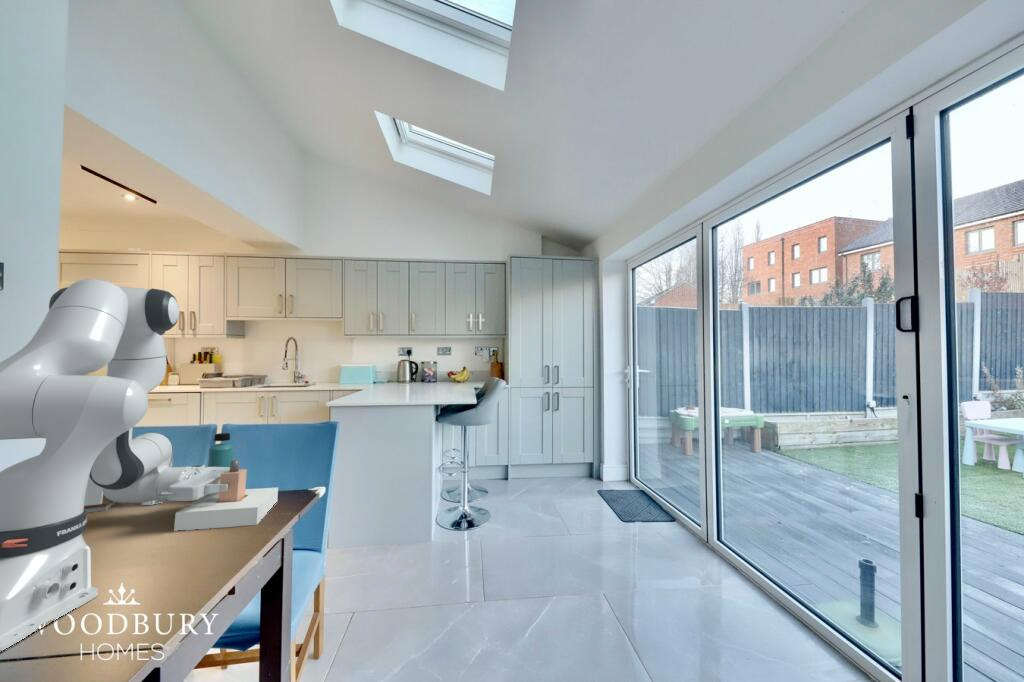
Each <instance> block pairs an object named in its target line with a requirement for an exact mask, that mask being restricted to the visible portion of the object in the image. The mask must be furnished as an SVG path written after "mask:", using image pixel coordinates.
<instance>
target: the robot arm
mask: <svg viewBox="0 0 1024 682" xmlns="http://www.w3.org/2000/svg"><path fill="white" fill-rule="evenodd" d="M48 303H49V304H48V312H47V314H46V315H45V317H44V319H43V321H42V323H41V324H40V326H39V328H38V329H37V330H36V332H35V333H34V335H33V336H32V337H31V339H30V341H28V343H27V344H26V345H25V346H23V347H22V348H21V349H19V350H18V351H16V352H15V353H14V354H13V355H11V356H9V357H7V358H5V359H4V360H2V361H1V362H0V441H1V440H2V441H4V440H7V441H8V440H24V439H25V440H26V439H27V440H29V439H40V438H41V439H45V443H44V448H43V449H42V450H41V452H40V453H39V454H38V455H35V456H33V457H29V458H27V459H25V460H21V461H20V462H17V463H15V464H12V465H11V466H8V467H6V468H4V469H2V470H1V471H0V650H4V649H6V648H8V647H10V646H11V645H13V644H14V643H16V642H19V641H20V640H22V639H24V638H25V637H26V636H28V635H30V634H31V633H32V632H34V631H35V630H36V629H37V628H38V627H39V626H40V625H41V624H43V623H45V622H48V621H50V620H53V619H56V618H58V617H61V616H63V615H64V616H66V615H68V614H69V613H71V612H73V611H74V610H76V609H78V608H80V607H81V606H83V605H85V604H86V603H89V601H91V600H93V599H95V598H96V597H97V596H99V595H98V594H99V590H98V588H97V587H95V586H92V572H91V571H92V560H91V559H92V558H91V548H90V546H89V545H88V544H87V543H86V540H85V539H84V537H83V533H84V532H85V531H86V528H87V527H86V526H87V525H86V524H87V523H88V517H87V514H88V513H87V511H86V510H84V503H85V495H86V489H87V484H88V479H89V477H90V479H91V480H92V481H93V482H94V483H95V484H96V485H98V486H99V487H102V491H103V494H104V496H105V497H106V498H107V499H109V500H112V501H115V502H117V503H124V504H127V503H130V504H133V503H134V504H139V503H144V502H149V501H159V502H164V503H167V502H191V501H192V502H193V501H195V500H197V499H199V498H201V497H203V496H205V495H207V494H210V493H215V492H220V491H226V490H228V489H229V486H230V484H229V483H222V484H220V476H221V473H223V472H225V471H228V470H230V467H208V466H206V465H205V464H198V465H192V466H174V467H173V466H172V467H169V466H170V463H171V459H172V451H173V452H174V450H173V448H174V447H173V444H172V442H171V440H170V438H168V437H167V436H166V435H165V434H162V433H159V432H155V431H153V432H151V431H150V432H146V433H143V434H141V435H138V436H136V437H134V438H133V429H134V427H135V426H136V425H138V424H139V423H140V422H141V421H142V419H143V418H144V417H145V415H146V413H147V411H148V409H149V408H148V407H149V396H148V394H150V393H151V392H152V391H154V389H156V388H157V387H158V386H160V385H161V384H162V382H163V381H164V380H165V377H166V372H167V365H168V364H167V363H168V361H167V350H166V343H165V338H164V334H165V333H166V332H168V331H170V330H171V329H172V328H174V326H176V325H177V323H178V321H179V316H180V306H179V304H178V301H177V299H176V296H175V295H173V294H172V293H171V292H170V291H167V290H163V289H159V288H158V289H157V288H150V289H148V288H140V287H129V286H127V287H126V286H119V285H116V284H114V283H112V282H110V281H107V280H103V279H98V278H97V279H95V278H87V279H85V278H84V279H81V280H78V281H75V282H73V283H72V284H70V285H69V286H68V287H63V288H60V289H59V290H57V291H56V292H54V293H53V294H52V296H51V297H50V300H49V302H48ZM106 366H107V372H106V375H89V374H91V373H94V372H97V371H98V370H100V369H102V368H105V367H106ZM87 374H88V375H87ZM75 608H76V609H75ZM73 609H74V610H73ZM72 610H73V611H72ZM70 611H71V612H70ZM68 612H69V613H68ZM67 613H68V614H67ZM65 614H66V615H65ZM64 616H63V617H64ZM61 618H62V617H61ZM30 636H31V635H30ZM25 639H26V638H25ZM25 639H24V640H25ZM22 641H23V640H22ZM20 642H21V641H20ZM20 642H19V643H20ZM13 646H14V645H13ZM10 648H11V647H10ZM8 649H9V648H8ZM6 650H7V649H6Z"/></svg>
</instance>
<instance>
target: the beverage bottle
mask: <svg viewBox="0 0 1024 682" xmlns="http://www.w3.org/2000/svg"><path fill="white" fill-rule="evenodd" d="M230 440H231V433H229V432H220V433H216V434H214V438H213V441H214V442H222V443H215V444H213V445H212V446H210V448H208V449H209V450H208V451H209V452H208V463H207V467H230V462H231V460H234V458H233V457H234V445H232V444H231V443H229V442H227V443H226V441H230ZM224 441H225V443H224Z"/></svg>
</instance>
